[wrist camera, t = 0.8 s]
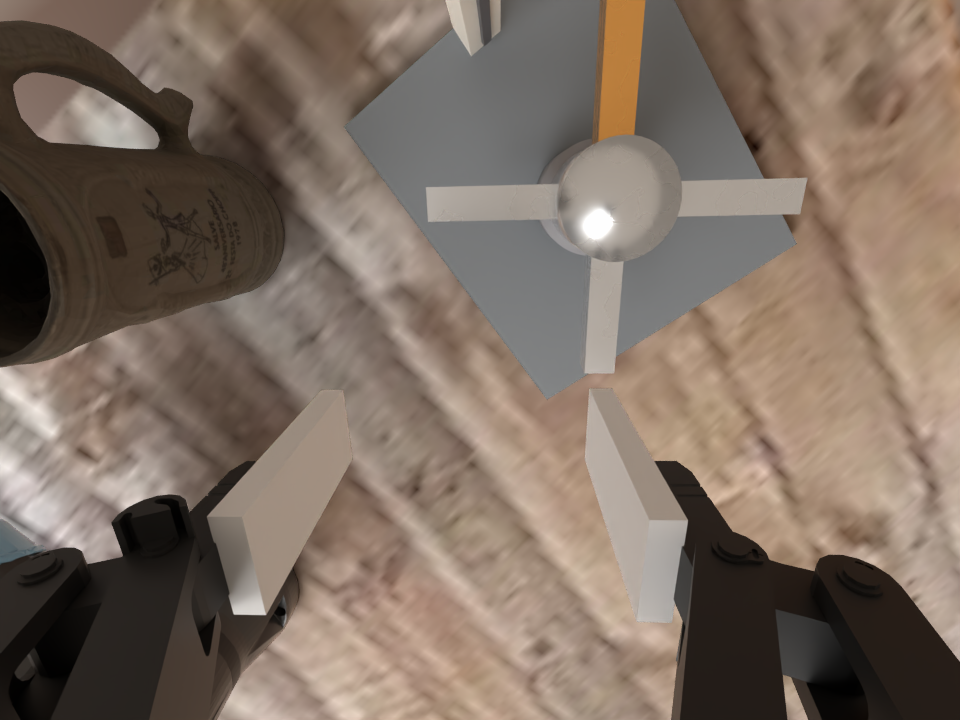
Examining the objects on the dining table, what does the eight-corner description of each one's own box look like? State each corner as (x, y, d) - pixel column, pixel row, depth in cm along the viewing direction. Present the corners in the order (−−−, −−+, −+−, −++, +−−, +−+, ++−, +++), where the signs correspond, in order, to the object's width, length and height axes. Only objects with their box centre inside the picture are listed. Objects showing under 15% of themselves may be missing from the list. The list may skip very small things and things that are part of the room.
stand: (545, 392, 41) (565, 483, 28) (350, 129, 34) (260, 92, 21) (785, 241, 35) (943, 269, 23) (609, -103, 29) (695, -335, 16)
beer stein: (297, 301, 39) (97, 374, 19) (174, 305, 39) (-139, 380, 20) (267, 96, 34) (-28, -69, 15) (129, 104, 35) (-324, -46, 16)
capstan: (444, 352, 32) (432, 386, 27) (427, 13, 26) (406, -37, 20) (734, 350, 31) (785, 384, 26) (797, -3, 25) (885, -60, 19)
